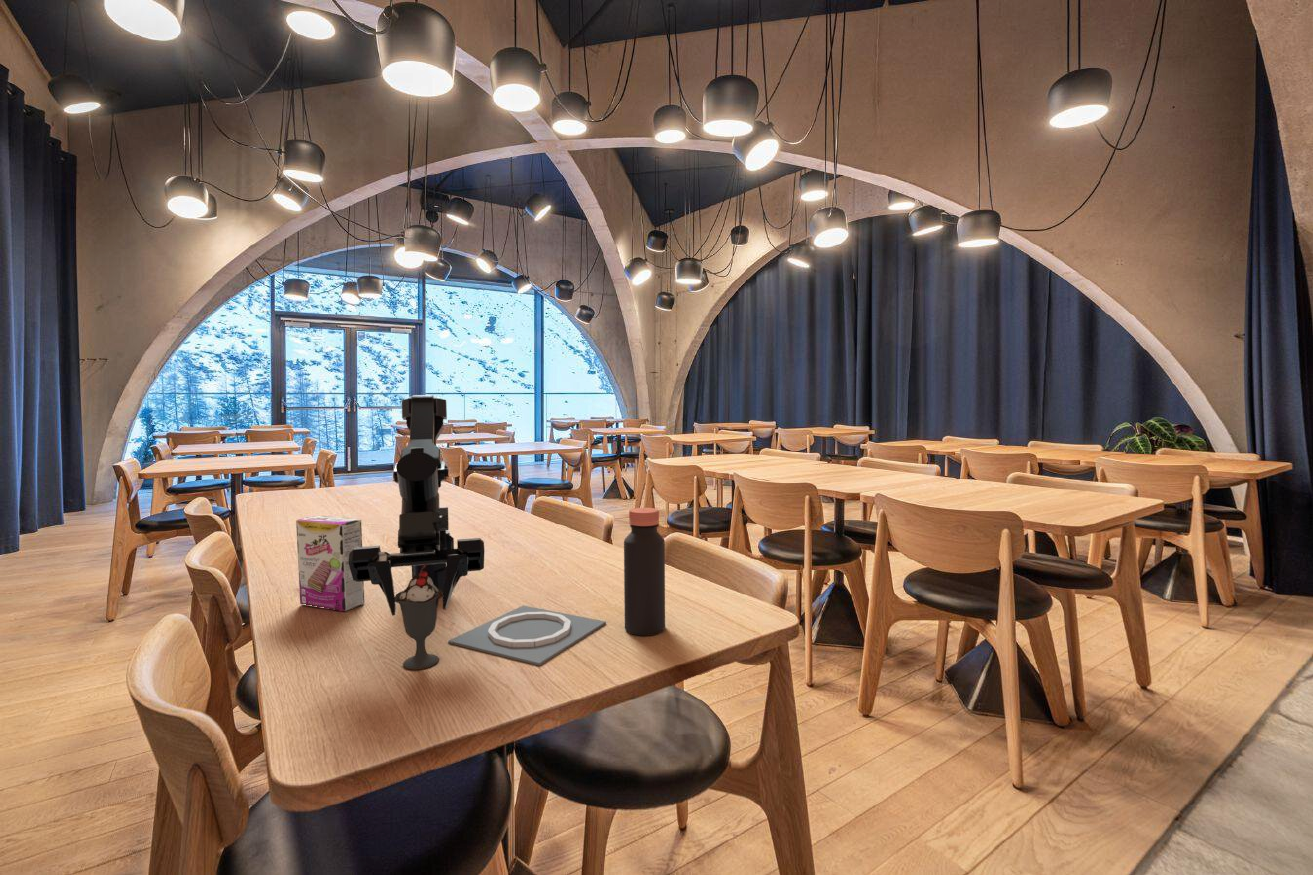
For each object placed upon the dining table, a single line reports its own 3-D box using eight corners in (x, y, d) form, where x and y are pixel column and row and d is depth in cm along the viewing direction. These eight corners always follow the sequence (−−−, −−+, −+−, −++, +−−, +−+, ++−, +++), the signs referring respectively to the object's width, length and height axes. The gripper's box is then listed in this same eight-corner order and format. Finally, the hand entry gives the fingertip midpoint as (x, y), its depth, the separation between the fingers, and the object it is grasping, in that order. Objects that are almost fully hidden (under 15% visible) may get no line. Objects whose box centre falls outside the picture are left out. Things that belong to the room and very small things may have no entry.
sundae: (429, 674, 84) (426, 568, 83) (386, 670, 85) (383, 566, 84) (454, 654, 90) (452, 556, 89) (414, 650, 91) (411, 554, 90)
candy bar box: (297, 606, 112) (294, 519, 111) (320, 598, 116) (317, 514, 115) (344, 613, 108) (340, 523, 107) (366, 604, 113) (362, 518, 112)
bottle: (635, 639, 95) (634, 515, 94) (618, 625, 101) (616, 508, 100) (672, 632, 98) (672, 511, 97) (653, 618, 104) (653, 505, 103)
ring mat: (448, 643, 95) (448, 635, 94) (523, 607, 110) (523, 601, 110) (539, 665, 86) (539, 657, 86) (606, 623, 102) (606, 616, 102)
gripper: (347, 493, 86) (337, 591, 77) (482, 486, 92) (488, 576, 83) (358, 534, 94) (349, 628, 85) (481, 526, 100) (486, 613, 91)
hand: (419, 611), depth 86 cm, fingers closed on sundae, 6 cm apart
